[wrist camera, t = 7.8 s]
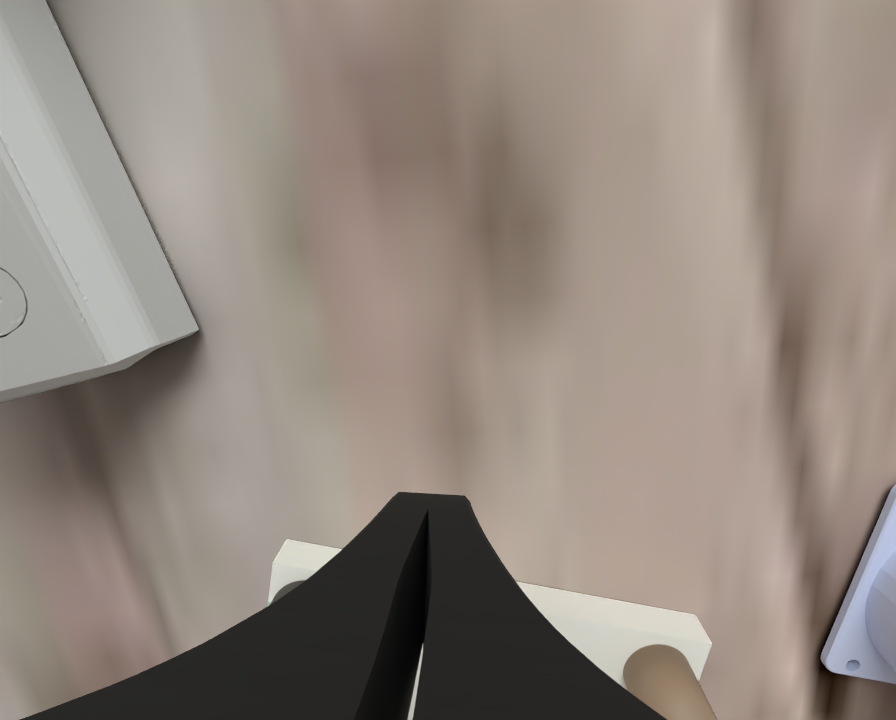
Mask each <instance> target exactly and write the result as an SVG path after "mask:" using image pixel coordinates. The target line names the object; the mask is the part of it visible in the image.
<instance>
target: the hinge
mask: <svg viewBox="0 0 896 720" xmlns="http://www.w3.org/2000/svg"><path fill="white" fill-rule="evenodd" d="M198 330H199V328H198V326H197V324H196V322H195V319H194V317H193V315H192V313H191V311H190V309H189V307H188V304H187V302H186V300H185V298H184V296H183V294H182V292H181V289H180V287H179V285H178V283H177V281H176V279H175V277H174V274H173V272H172V270H171V268H170V266H169V264H168V262H167V259H166V257H165V255H164V253H163V251H162V249H161V247H160V244H159V242H158V240H157V238H156V236H155V234H154V232H153V229H152V227H151V225H150V223H149V221H148V219H147V217H146V214H145V212H144V210H143V208H142V206H141V204H140V202H139V199H138V197H137V195H136V193H135V191H134V189H133V187H132V184H131V182H130V180H129V178H128V176H127V174H126V172H125V169H124V167H123V165H122V163H121V161H120V159H119V157H118V154H117V152H116V150H115V148H114V146H113V144H112V142H111V139H110V137H109V135H108V133H107V131H106V129H105V127H104V124H103V122H102V120H101V118H100V116H99V114H98V112H97V109H96V107H95V105H94V103H93V101H92V99H91V97H90V94H89V92H88V90H87V88H86V86H85V84H84V82H83V79H82V77H81V75H80V73H79V71H78V69H77V67H76V64H75V62H74V60H73V58H72V56H71V54H70V52H69V49H68V47H67V45H66V43H65V41H64V39H63V37H62V34H61V32H60V30H59V28H58V26H57V24H56V22H55V19H54V17H53V15H52V13H51V11H50V9H49V7H48V4H47V2H46V0H0V403H3V402H7V401H10V400H14V399H18V398H22V397H26V396H30V395H33V394H37V393H41V392H45V391H49V390H53V389H56V388H60V387H64V386H68V385H72V384H76V383H79V382H83V381H87V380H91V379H95V378H99V377H102V375H105V374H109V373H113V372H117V371H120V370H124V369H127V368H128V367H130V366H131V365H133V364H134V363H136V362H137V361H139V360H140V359H142V358H143V357H145V356H146V355H148V354H149V353H151V352H152V351H154V350H155V349H158V348H160V347H163V346H165V345H168V344H170V343H173V342H175V341H178V340H180V339H183V338H185V337H188V336H190V335H192V334H193V333H195V332H196V331H198Z"/></svg>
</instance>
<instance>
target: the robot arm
mask: <svg viewBox="0 0 896 720" xmlns="http://www.w3.org/2000/svg"><path fill="white" fill-rule="evenodd" d="M422 645H423V655H422V662H421V669H420V675H419V682H418V688H417V695H416V701H415V708H414V714H413V720H667V719H666V718H664V717H663V716H661V715H660V714H659V713H657V712H656V711H655V710H653V709H652V708H651V707H649V706H648V705H646V704H645V703H644V702H642V701H641V700H640V699H638V698H637V697H636V696H634V695H633V694H631V693H630V692H629V691H627V690H626V689H625V688H623V687H622V686H621V685H620V684H618V683H617V682H616V681H615V680H613V679H612V678H611V677H610V676H608V675H607V674H606V673H605V672H603V671H602V670H601V669H600V668H598V667H597V666H596V665H595V664H594V663H593V662H592V661H590V660H589V659H588V658H587V657H586V656H585V655H584V654H583V653H581V652H580V651H579V650H578V649H577V648H576V647H575V646H574V645H572V644H571V643H570V642H569V641H568V640H567V639H566V638H565V637H564V636H563V635H562V634H561V633H560V632H559V631H558V630H557V629H556V628H555V627H554V626H553V625H552V624H551V623H550V622H549V621H548V620H547V619H546V618H545V617H544V615H543V614H542V613H541V612H540V611H539V610H538V609H537V608H536V606H535V605H534V604H533V603H532V602H531V601H530V599H529V598H528V597H527V596H526V594H525V593H524V592H523V591H522V589H521V588H520V587H519V585H518V584H517V583H516V581H515V580H514V579H513V577H512V576H511V575H510V573H509V572H508V570H507V569H506V567H505V566H504V565H503V563H502V562H501V560H500V559H499V557H498V555H497V554H496V552H495V551H494V549H493V547H492V546H491V544H490V543H489V541H488V539H487V537H486V536H485V534H484V532H483V530H482V528H481V526H480V524H479V523H478V521H477V518H476V516H475V514H474V512H473V509H472V507H471V503H470V501H469V500H468V499H467V498H466V497H465V496H461V495H443V494H426V493H408V492H398V493H397V494H396V495H395V496H394V497H393V498H392V499H391V500H390V501H389V502H388V503H387V504H386V505H385V507H384V508H383V509H382V510H381V511H380V512H379V513H378V514H377V515H376V516H375V517H374V519H373V520H372V521H371V522H370V523H369V524H368V525H367V526H366V527H365V528H364V529H363V530H362V531H361V532H360V533H359V534H358V535H357V536H356V537H355V538H354V539H353V540H352V541H351V542H350V543H349V544H348V545H346V546H345V547H344V548H343V549H342V550H341V551H340V552H339V553H338V554H336V555H335V556H334V557H333V558H332V559H331V560H329V561H328V562H327V563H326V564H325V565H324V566H322V567H321V568H320V569H319V570H318V571H317V572H315V573H314V574H313V575H312V576H311V577H309V578H308V579H307V580H305V581H304V582H303V583H301V584H300V585H299V586H297V587H296V588H294V589H293V590H291V591H290V592H289V593H287V594H286V595H284V596H283V597H281V598H280V599H278V600H277V601H275V602H274V603H272V604H271V605H269V606H268V607H266V608H264V609H263V610H261V611H259V612H258V613H256V614H254V615H252V616H251V617H249V618H247V619H245V620H244V621H242V622H240V623H238V624H237V625H235V626H233V627H231V628H230V629H228V630H226V631H224V632H223V633H221V634H219V635H217V636H216V637H214V638H212V639H210V640H208V641H207V642H205V643H203V644H201V645H199V646H197V647H195V648H193V649H191V650H189V651H186V652H184V653H182V654H180V655H178V656H176V657H174V658H172V659H170V660H168V661H166V662H163V663H161V664H159V665H157V666H155V667H152V668H150V669H148V670H146V671H143V672H141V673H139V674H137V675H135V676H132V677H130V678H127V679H125V680H123V681H120V682H118V683H116V684H113V685H111V686H108V687H106V688H103V689H100V690H98V691H95V692H92V693H90V694H87V695H84V696H82V697H79V698H77V699H74V700H71V701H69V702H66V703H63V704H61V705H58V706H55V707H53V708H50V709H48V710H45V711H42V712H40V713H37V714H34V715H32V716H29V717H26V718H23V719H20V720H408V715H409V710H410V705H411V700H412V695H413V690H414V685H415V680H416V675H417V670H418V665H419V660H420V655H421V650H422ZM850 660H851V661H850ZM821 661H822V663H823V664H824V665H825V666H826V668H827V669H828V670H829V671H831V672H834V673H838V674H843V675H849V676H854V677H860V678H865V679H871V680H876V681H881V682H887V683H892V684H896V485H894V486H893V488H892V489H891V491H890V493H889V495H888V498H887V500H886V502H885V505H884V507H883V509H882V512H881V514H880V517H879V519H878V521H877V524H876V526H875V528H874V531H873V533H872V535H871V538H870V540H869V542H868V545H867V547H866V550H865V552H864V554H863V557H862V559H861V561H860V564H859V566H858V568H857V571H856V573H855V575H854V578H853V580H852V583H851V585H850V587H849V590H848V592H847V594H846V597H845V599H844V601H843V604H842V606H841V608H840V611H839V613H838V615H837V618H836V620H835V623H834V625H833V627H832V630H831V632H830V634H829V637H828V639H827V641H826V644H825V646H824V648H823V651H822V653H821ZM848 661H850V662H848ZM847 662H848V663H847Z"/></svg>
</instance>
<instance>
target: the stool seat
mask: <svg viewBox="0 0 896 720" xmlns="http://www.w3.org/2000/svg"><path fill="white" fill-rule="evenodd" d="M341 550H342V549H338V548H332V547H327V546H322V545H316V544H311V543H305V542H300V541H295V540H289V539H286V541H285V543H284V544H283V546H282V548H281V549H280V551H279V553H278V555H277V556H276V558H275V560H274V561H273V566H272V574H271V582H270V590H269V599H268V602H267V607H268V606H269V605H270V604H271V602H272V600H273V598H274V596H275V595H276V593H277V592H278V591H279V590H280V589H281V588H283V587H284V586H285V585H287V584H289V583H292V582H295V581H300V580H307V579H308V578H309V577H311V576H312V575H313V574H314V573H315V572H317V571H318V570H319V569H320V568H321V567H322V566H324V565H325V564H326V563H327V562H328V561H329V560H331V559H332V558H333V557H334V556H335V555H336V554H338V553H339V552H340V551H341ZM516 583H517V584H518V585H519V587H520V588H521V589H522V591H523V592H524V593H525V594H526V596H527V597H528V598H529V599H530V601H531V602H532V603H533V604H534V605H535V606H536V608H537V609H538V610H539V611H540V612H541V613H542V614H543V615H544V617H545V618H546V619H547V620H548V621H549V622H550V623H551V624H552V625H553V626H554V627H555V628H556V629H557V630H558V631H559V632H560V633H561V634H562V635H563V636H564V637H565V638H566V639H567V640H568V641H569V642H570V643H571V644H572V645H574V646H575V647H576V648H577V649H578V650H579V651H580V652H581V653H583V654H584V655H585V656H586V657H587V658H588V659H589V660H590V661H592V662H593V663H594V664H595V665H596V666H597V667H598V668H600V669H601V670H602V671H603V672H605V673H606V674H607V675H608V676H610V677H611V678H612V679H613V680H615V681H616V682H617V683H618V684H620V685H621V686H622V687H623V688H625V689H626V690H627V691H629V692H630V693H631V694H633V695H634V696H636V697H637V698H638V699H640V700H641V701H642V702H644V703H645V704H646V705H648V706H649V707H651V708H652V709H653V710H655V711H656V712H657V713H659V714H660V715H661V716H663V717H664V718H666V719H667V720H717V718H716V716H715V714H714V712H713V710H712V708H711V706H710V704H709V702H708V700H707V698H706V696H705V694H704V692H703V690H702V688H701V686H700V684H699V682H698V681H699V679H700V676H701V673H702V670H703V668H704V665H705V662H706V659H707V657H708V654H709V651H710V648H711V646H712V643H711V641H710V639H709V637H708V636H707V634H706V632H705V631H704V629H703V627H702V625H701V624H700V622H699V620H698V619H697V617H696V615H694V614H689V613H683V612H678V611H673V610H667V609H662V608H656V607H651V606H646V605H640V604H635V603H629V602H624V601H619V600H613V599H608V598H602V597H597V596H592V595H586V594H581V593H575V592H570V591H565V590H559V589H554V588H548V587H543V586H538V585H532V584H527V583H521V582H516ZM422 655H423V645H422V650H421V655H420V660H419V665H418V670H417V675H416V680H415V685H414V690H413V695H412V700H411V705H410V710H409V715H408V720H413V714H414V708H415V701H416V695H417V688H418V682H419V675H420V669H421V662H422Z"/></svg>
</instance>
